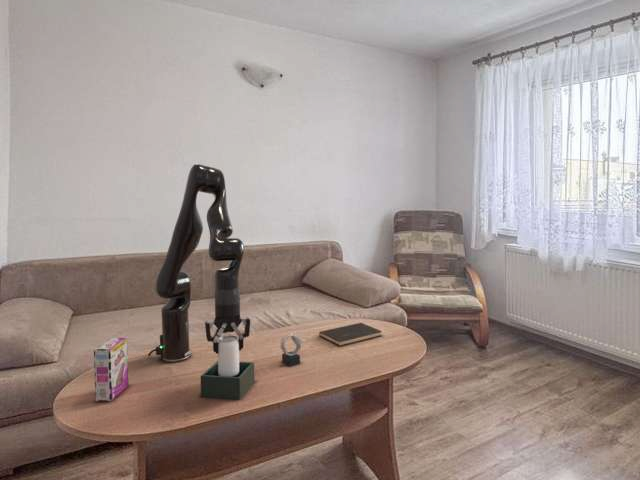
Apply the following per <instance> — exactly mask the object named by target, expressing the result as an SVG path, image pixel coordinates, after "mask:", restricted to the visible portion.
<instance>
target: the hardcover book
mask: <svg viewBox="0 0 640 480" xmlns="http://www.w3.org/2000/svg"><path fill="white" fill-rule="evenodd" d="M318 335H319V338H322V339H324V340H327V341H328V342H330V343H332V344H334V345H335V346H338V347H344V346H348V345H352V344H356V343H359V342H363V341H367V340H372V339H376V338H380V337H383V336H382V330H380V329H378V328H376V327H372V326H370V325H368V324H365V323H363V322H358V323H354V324H353V323H352V324H348V325H344V326H339V327H334V328H330V329H326V330H321V331H319V334H318Z"/></svg>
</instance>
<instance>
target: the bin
mask: <svg viewBox="0 0 640 480" xmlns="http://www.w3.org/2000/svg"><path fill="white" fill-rule="evenodd" d="M254 383H255V362H253V361H239V373H238V375H236V376H234V377H226V376H219V374H218V360H217V361H216V362H214V364H212V365H211V366H210V367H209V368H207V370H205V371H204V372H203V373H202V374H201V375H200V397H202V398H215V399H216V398H217V399H231V400H241V399H242V397H244V395H245V394H246V393H247V391H248V390H250V388H251V386H252V385H253V384H254Z"/></svg>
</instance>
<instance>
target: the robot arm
mask: <svg viewBox="0 0 640 480" xmlns="http://www.w3.org/2000/svg"><path fill="white" fill-rule="evenodd" d="M198 193H203V194H210V195H213V198H214V200H213V202H212V203H211V205H209V208H208V209H207V212H206V223H207V227H208V231H209V244H208V256H209V258H210V259H211V260H212V261H214V262H229V264H227V266H224V267H221V268H218V269H216V270H215V273H214V276H215V277H214V283H215V284H214V286H215V289H214V320H212V321H208V320H205V322H204V328H205V329H204V330H205V337H206V341H207V342H211V343H212V350H213V353H215V354H217V355H218V342H219V338H221V337H222V334H227V333H234V332H235V333H236V336H237V340H238V341H239V352H240V351H242V350H243V349H244V339H245V338H249V337H250V332H251V331H250V329H251V319H250V317H249V316H246V317H241V293H240V280H239V279H240V275H239V274H240V270H241V264H242V261H243V257H244V254H245V244H244V242H243V240H242V239H240V238H239V237H232V238H230V237H231V236H232V235H233V231H234V230H233V225H232V221H231V218H230V214H229V211H228V202H227V188H226V179H225V174H224V172H223V171H222V170H221V169H219V168H216V167H212V166H209V165H204V164H199V163H194V164H193V165H192V166H191V167H190V169H189V172H188V175H187V180H186V184H185V188H184V193H183V199H182V201H181V205H180V210H179V213H178V217H177V219H176V223H175V225H174V228H173V231H172V235H171V238H170V239H171V240H170V243H169V245H168V249H167V252H166V255H165V258H164V261H163V264H162V265H161V268H160V269H159V272H158V273H157V277H156V280H155V285H154V287H155V292H156V294H157V296H158V297H159V298H161V299H168V300H167V302H166V303H165V304H164V305H163V306H162V307H161V334H160V335H159V345H157V346H156V347H155V348H154V349H152V350H150V351H149V353H147V356H148V357H150V356H151V355H152V354H153V352H155V356H159V357H160V360H161V361H163V362H166V363H178V362H182V361H186V360H188V359H189V358H190V356H191V353H192V350H191V349H190V322H189V321H190V319H189V308H190V307H191V297H192V296H191V295H192V294H191V292H192V285H191V279H190V276H189V275H188V273H186V272H185V271H183V270H182V269H183V266H184V264H185V263H186V262H187V260H189V258H190V257H191V256H192V255H193V253H194V252H195V251H196V249H197V248H198V246H199V244H200V242H201V237H202V235H203V232H204V231H203V230H204V225H203V221H202V218H201V215H200V213H199V209H198V206H197V197H198ZM241 323H242V324H243V325H244V329H243V330H244V331H243V332H241V330H240V328H239V327H240V325H241ZM213 326H215V328H217V329H216V330H215V332H214V334H213V336H212V333H211V329H213Z"/></svg>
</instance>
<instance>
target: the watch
mask: <svg viewBox="0 0 640 480" xmlns="http://www.w3.org/2000/svg"><path fill="white" fill-rule="evenodd" d="M289 338H291V341H292V342H293V343H294V344H295V345H296V347H295V349H294V350H293V351H292V350H291V351H288V350H287V348H286V345H285V343H286V342H287V340H288V339H289ZM302 344H303V341H302V339H301V338H300V337H299V335H298V334H295V333H287V334H285V335H284V336H283V337H282V339H281V341H280V349H281V351H282V352H283V353H281V362H282V363H283V364H285V365H287V366H288V367H292V366H293V367H294V366H296V365H300V364H301V355H300V354H298V353H299V352H300V350H301V348H302Z"/></svg>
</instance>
